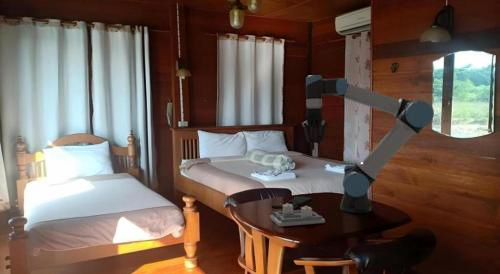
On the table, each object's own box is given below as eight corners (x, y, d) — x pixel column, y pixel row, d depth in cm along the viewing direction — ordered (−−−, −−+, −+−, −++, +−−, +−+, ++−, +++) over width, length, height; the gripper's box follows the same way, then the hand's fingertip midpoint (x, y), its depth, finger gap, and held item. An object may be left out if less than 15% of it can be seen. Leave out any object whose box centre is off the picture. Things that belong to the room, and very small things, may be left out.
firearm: (287, 194, 237) (312, 196, 230) (287, 198, 237) (312, 200, 230) (268, 204, 211) (295, 207, 204) (268, 209, 211) (295, 212, 205)
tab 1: (290, 214, 193) (290, 202, 192) (293, 216, 190) (293, 204, 189) (282, 215, 192) (282, 203, 191) (285, 217, 188) (285, 205, 188)
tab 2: (308, 217, 188) (309, 205, 187) (311, 219, 184) (312, 207, 184) (300, 218, 187) (300, 206, 186) (303, 220, 183) (303, 207, 183)
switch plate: (313, 215, 197) (313, 209, 197) (324, 222, 185) (324, 216, 184) (270, 218, 192) (270, 212, 191) (278, 226, 179) (279, 219, 179)
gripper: (322, 107, 201) (323, 154, 203) (298, 108, 197) (299, 156, 199) (330, 107, 194) (330, 156, 196) (305, 108, 190) (306, 158, 192)
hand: (315, 156), depth 197 cm, fingers closed
